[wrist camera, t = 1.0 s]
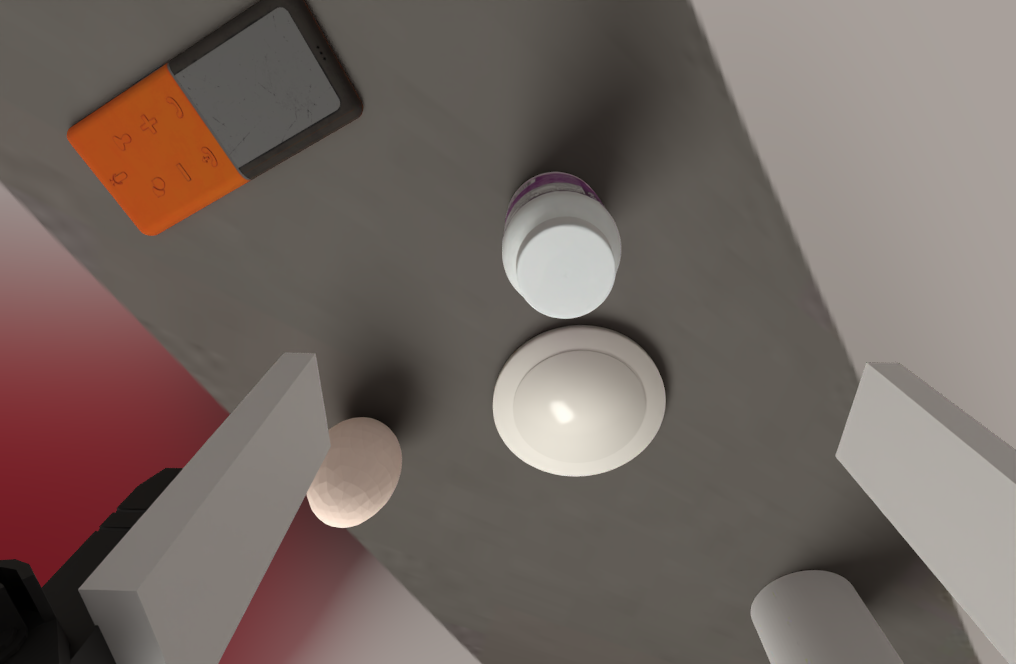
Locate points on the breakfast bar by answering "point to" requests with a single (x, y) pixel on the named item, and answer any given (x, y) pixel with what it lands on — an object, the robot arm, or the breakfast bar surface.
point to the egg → (356, 472)
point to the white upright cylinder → (818, 622)
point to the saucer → (578, 400)
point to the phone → (218, 115)
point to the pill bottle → (560, 245)
